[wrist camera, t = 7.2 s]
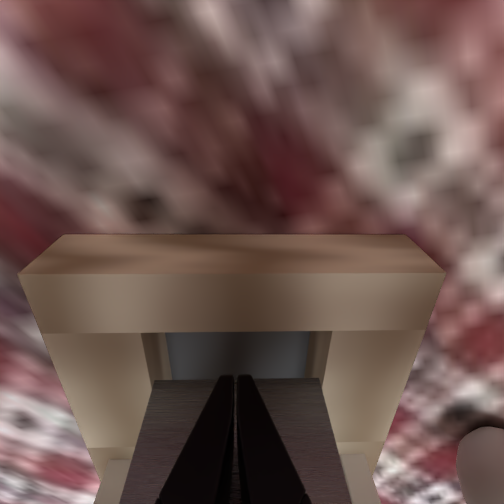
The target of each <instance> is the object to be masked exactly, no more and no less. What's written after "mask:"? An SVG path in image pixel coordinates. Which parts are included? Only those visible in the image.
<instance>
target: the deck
mask: <svg viewBox="0 0 504 504" xmlns="http://www.w3.org/2000/svg"><path fill="white" fill-rule="evenodd" d="M17 275H18V278H19V280H20V283H21V285H22V287H23V290H24V292H25V295H26V297H27V300H28V302H29V305H30V307H31V310H32V312H33V315H34V317H35V320H36V322H37V325H38V327H39V330H40V332H41V335H42V337H43V340H44V342H45V345H46V347H47V350H48V352H49V355H50V357H51V360H52V362H53V365H54V367H55V370H56V372H57V374H58V377H59V379H60V382H61V384H62V387H63V389H64V392H65V394H66V397H67V399H68V402H69V404H70V407H71V409H72V412H73V414H74V417H75V419H76V422H77V424H78V427H79V429H80V432H81V434H82V437H83V439H84V442H85V444H86V447H87V449H88V452H89V454H90V457H91V459H92V461H93V464H94V466H95V469H96V471H97V474H98V476H99V479H100V481H102V478H103V475H104V472H105V470H106V467H107V464H108V461H109V460H118V459H132V457H133V453H134V450H135V446H136V443H137V439H138V436H139V433H140V429H141V426H142V422H143V419H144V415H145V412H146V408H147V405H148V401H149V398H150V394H151V391H152V387H153V384H154V381H155V380H202V379H218V378H219V376H220V375H227V374H232V375H234V379H237V376H238V375H239V374H250V375H251V376H252V377H253V379H268V378H319V380H320V384H321V388H322V391H323V395H324V399H325V403H326V407H327V410H328V414H329V418H330V422H331V426H332V429H333V433H334V437H335V441H336V445H337V449H338V452H339V456H340V454H365V456H366V459H367V462H368V465H369V469H370V472H371V475H373V473H374V470H375V467H376V465H377V462H378V459H379V456H380V454H381V451H382V448H383V445H384V443H385V440H386V437H387V434H388V432H389V429H390V426H391V423H392V421H393V418H394V415H395V413H396V410H397V407H398V404H399V402H400V399H401V396H402V393H403V391H404V388H405V385H406V382H407V380H408V377H409V374H410V371H411V369H412V366H413V363H414V361H415V358H416V355H417V352H418V350H419V347H420V344H421V341H422V339H423V336H424V333H425V330H426V328H427V325H428V322H429V319H430V317H431V314H432V311H433V308H434V306H435V303H436V300H437V298H438V295H439V292H440V289H441V287H442V284H443V281H444V278H445V276H446V272H445V271H444V270H443V269H442V268H441V267H440V266H439V265H437V264H436V263H435V262H434V261H433V260H432V259H431V258H430V257H429V256H428V255H427V254H426V253H425V252H424V251H422V250H421V249H420V248H419V247H418V246H417V245H416V244H415V243H414V242H413V241H412V240H411V239H410V238H409V237H408V236H406V235H394V234H63V235H62V236H61V237H60V238H59V239H58V240H57V241H55V242H54V243H53V244H52V245H51V246H50V247H48V248H47V249H46V250H45V251H44V252H43V253H42V254H40V255H39V256H38V257H37V258H36V259H35V260H33V261H32V262H31V263H30V264H29V265H28V266H27V267H25V268H24V269H23V270H22V271H21V272H20V273H18V274H17Z"/></svg>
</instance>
